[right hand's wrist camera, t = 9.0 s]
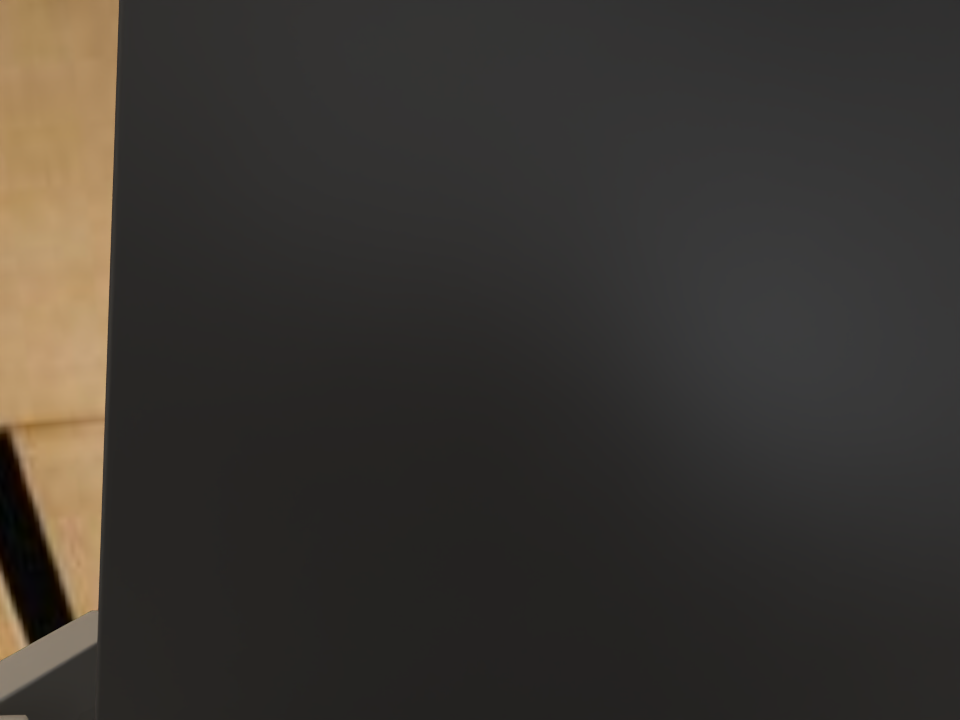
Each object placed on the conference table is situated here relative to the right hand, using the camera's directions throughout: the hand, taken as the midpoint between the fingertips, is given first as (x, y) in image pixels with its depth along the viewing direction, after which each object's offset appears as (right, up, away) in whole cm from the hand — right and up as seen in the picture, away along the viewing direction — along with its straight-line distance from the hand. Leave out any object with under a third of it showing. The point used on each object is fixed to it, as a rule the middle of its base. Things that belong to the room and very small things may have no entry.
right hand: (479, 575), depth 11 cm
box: (+2, +9, +2) cm, 10 cm away
